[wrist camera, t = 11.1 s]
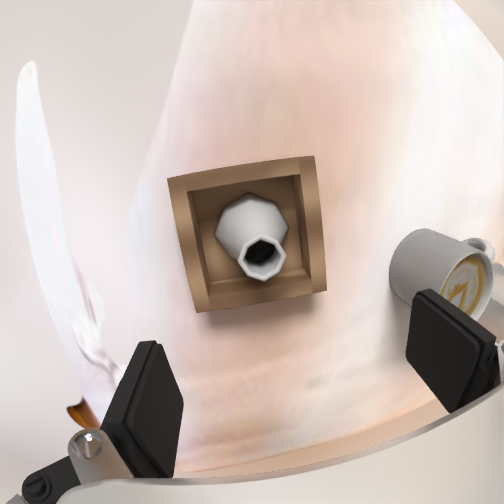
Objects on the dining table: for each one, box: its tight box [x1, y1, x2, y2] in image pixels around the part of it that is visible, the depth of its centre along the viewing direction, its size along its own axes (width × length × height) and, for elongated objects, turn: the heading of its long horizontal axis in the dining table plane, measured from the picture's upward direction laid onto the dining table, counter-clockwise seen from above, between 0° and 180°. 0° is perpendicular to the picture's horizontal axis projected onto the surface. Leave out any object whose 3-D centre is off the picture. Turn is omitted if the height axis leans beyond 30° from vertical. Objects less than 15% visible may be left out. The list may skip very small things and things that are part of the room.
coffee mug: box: [389, 229, 495, 321], centre depth 29 cm, size 13×10×10 cm
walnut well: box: [167, 156, 327, 313], centre depth 28 cm, size 13×13×4 cm
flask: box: [214, 192, 289, 281], centre depth 25 cm, size 7×7×10 cm
